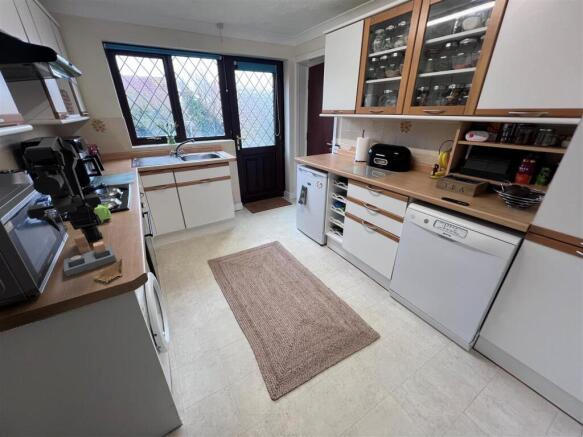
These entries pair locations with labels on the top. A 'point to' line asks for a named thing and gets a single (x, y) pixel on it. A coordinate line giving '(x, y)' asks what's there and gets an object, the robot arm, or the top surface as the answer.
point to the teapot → (103, 212)
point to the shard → (110, 271)
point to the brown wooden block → (82, 243)
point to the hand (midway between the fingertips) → (76, 226)
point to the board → (89, 259)
